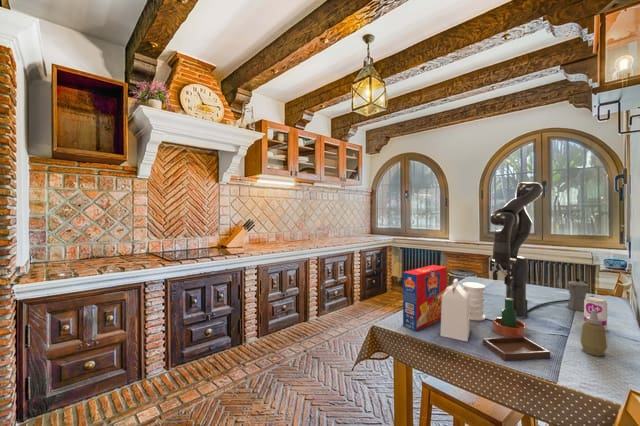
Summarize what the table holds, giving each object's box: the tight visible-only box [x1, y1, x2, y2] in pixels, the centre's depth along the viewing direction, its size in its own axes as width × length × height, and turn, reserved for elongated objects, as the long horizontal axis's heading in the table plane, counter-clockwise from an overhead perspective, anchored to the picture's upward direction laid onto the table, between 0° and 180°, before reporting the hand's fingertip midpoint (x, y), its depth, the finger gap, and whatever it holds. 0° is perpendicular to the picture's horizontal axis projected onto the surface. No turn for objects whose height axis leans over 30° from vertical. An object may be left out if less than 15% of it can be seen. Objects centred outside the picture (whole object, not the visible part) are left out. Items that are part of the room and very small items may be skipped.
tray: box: [482, 336, 551, 361], centre depth 121 cm, size 20×14×3 cm
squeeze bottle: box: [580, 310, 608, 357], centre depth 119 cm, size 8×8×18 cm
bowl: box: [492, 316, 527, 338], centre depth 138 cm, size 13×13×5 cm
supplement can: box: [583, 296, 608, 331], centre depth 142 cm, size 8×8×15 cm
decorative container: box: [461, 281, 486, 321], centre depth 157 cm, size 12×12×18 cm
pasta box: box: [402, 264, 448, 332], centre depth 152 cm, size 28×8×28 cm, turn 127°
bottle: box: [501, 297, 517, 328], centre depth 138 cm, size 6×6×16 cm
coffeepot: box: [567, 278, 589, 312], centre depth 170 cm, size 15×9×18 cm, turn 113°
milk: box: [439, 278, 471, 342], centre depth 138 cm, size 12×12×26 cm
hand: (500, 282), depth 147 cm, fingers open, 8 cm apart
